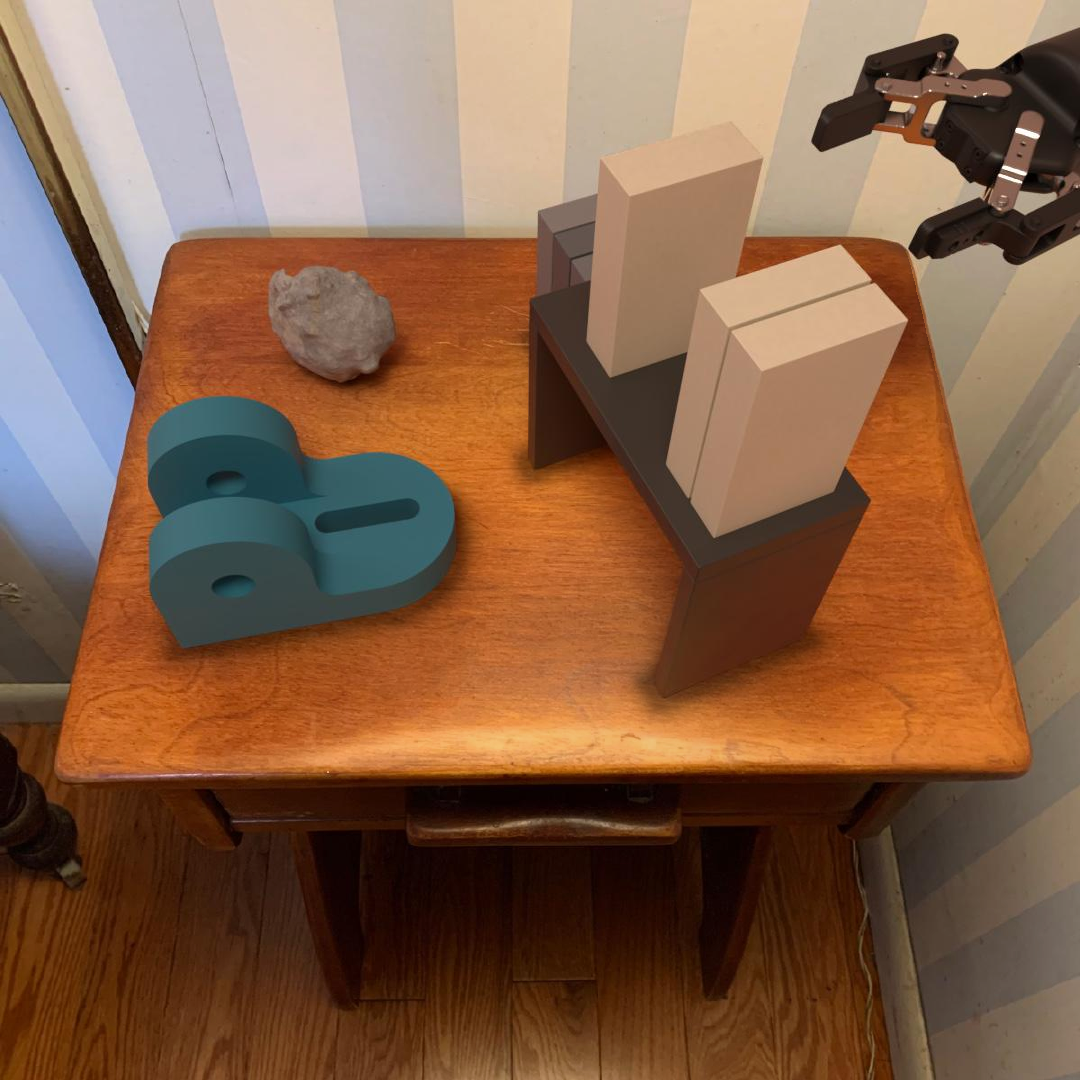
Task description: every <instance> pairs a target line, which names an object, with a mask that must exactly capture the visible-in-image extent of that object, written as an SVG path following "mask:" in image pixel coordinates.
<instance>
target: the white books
mask: <svg viewBox="0 0 1080 1080" xmlns="http://www.w3.org/2000/svg"><path fill="white" fill-rule="evenodd" d="M871 282H872V278H871V277H870V276H869V274H868V273H867V272H866V271H865V270H864V269H863V267H861V265H860V264H859V263H858V262H857V261H856V260H855V259H854V258H853V256H852V255H851V254H850V253H849V252H848V250H846V248H845V247H844V246H843V245H842V244H837V245H834V246H830V247H828V248H825V249H821V250H819V251H815V252H812V253H809V254H806V255H803V256H799V257H797V258H793V259H790V260H787V261H784V262H780V263H777V264H775V265H772V266H769V267H765V268H762V269H759V270H756V271H753V272H750V273H747V274H743V275H740V276H736V278H734V279H731V280H727V281H724V282H721V283H718V284H715V285H712V286H709V287H706V288H703V289H700V291H699V297H698V302H697V307H696V312H695V317H694V322H693V327H692V333H691V338H690V343H689V348H688V353H687V358H686V363H685V368H684V374H683V379H682V384H681V389H680V394H679V399H678V404H677V410H676V415H675V420H674V425H673V430H672V435H671V440H670V445H669V451H668V456H667V461H666V465H667V467H668V469H669V470H670V472H671V473H672V475H673V476H674V478H675V479H676V481H677V482H678V484H679V485H680V487H681V489H682V490H683V492H684V493H685V495H686V496H687V498H691V501H690V502H691V504H692V506H693V507H694V509H695V510H696V512H697V513H698V515H699V516H700V518H701V519H702V521H703V523H704V524H705V526H706V527H707V529H708V530H709V532H710V533H711V535H712V536H713V538H716V537H719V536H721V535H724V534H726V533H729V532H731V531H734V530H737V529H739V528H742V527H744V526H747V525H750V524H752V523H755V522H757V521H760V520H762V519H765V518H768V517H770V516H773V515H775V514H778V513H780V512H783V511H786V510H788V509H791V508H793V507H796V506H799V505H801V504H804V503H806V502H809V501H811V500H814V499H817V498H819V497H822V496H824V495H827V494H829V493H832V492H834V490H835V487H836V485H837V483H838V481H839V478H840V476H841V474H842V471H843V469H844V467H846V466H847V465H846V464H847V462H848V460H849V458H850V456H851V453H852V451H853V448H854V446H855V444H856V442H857V439H858V437H859V435H860V432H861V430H862V427H863V425H864V423H865V420H866V419H867V416H868V414H869V411H870V409H871V407H872V405H873V402H874V400H875V398H876V395H877V394H878V391H879V389H880V387H881V384H882V382H883V379H884V377H885V375H886V373H887V370H888V368H889V365H890V364H891V361H892V359H893V356H894V354H895V352H896V350H897V348H898V345H899V342H900V340H901V338H902V336H903V333H904V331H905V329H906V328H907V327H906V326H907V325H908V322H909V319H908V317H906V316H905V314H904V313H903V312H902V311H901V310H900V309H899V308H898V307H897V305H896V304H895V303H894V302H893V301H892V300H891V299H890V298H889V297H888V295H887V294H886V293H885V292H884V291H883V290H882V289H881V288H880V286H879V285H878V284H877V283H876V282H873V283H871Z"/></svg>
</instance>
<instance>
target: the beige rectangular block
mask: <svg viewBox="0 0 1080 1080" xmlns="http://www.w3.org/2000/svg"><path fill="white" fill-rule="evenodd" d="M599 159H600V160H599V168H598V169H599V171H598V181H597V182H598V184H597V186H598V187H597V194H598V195H597V209H596V222H595V235H594V248H593V261H592V274H591V288H590V301H589V314H588V327H587V340H586V341H587V343H588V345H589V346H590V348H591V349H592V351H593V352H594V354H595V355H596V357H597V359H598V360H599V362H600V363H601V365H602V366H603V368H604V369H605V371H606V372H607V374H608V375H609V377H610V378H611V377H614V376H617V375H620V374H623V373H626V372H629V371H632V370H635V369H638V368H641V367H644V366H647V365H650V364H653V363H656V362H659V361H662V360H665V359H668V358H671V357H674V356H677V355H680V354H683V353H686V352H688V348H689V343H690V338H691V333H692V327H693V322H694V317H695V312H696V307H697V302H698V297H699V291H700V289H703V288H706V287H709V286H712V285H715V284H718V283H721V282H724V281H727V280H731V279H734V278H737V274H738V270H739V266H740V261H741V257H742V252H743V249H744V244H745V240H746V235H747V231H748V227H749V222H750V217H751V213H752V209H753V205H754V201H755V196H756V191H757V187H758V184H759V178H760V174H761V170H762V165H763V162H764V156H763V155H762V154H761V152H760V151H759V150H757V148H756V147H755V146H754V145H753V144H752V143H751V141H749V139H748V138H747V137H746V136H745V134H744V133H742V132H741V130H740V129H739V128H738V127H737V126H736V125H735V124H734V122H733V121H727V122H723V123H720V124H716V125H711V126H708V127H705V128H701V129H698V130H695V131H692V132H687V133H684V134H679V135H676V136H672V137H669V138H666V139H662V140H658V141H655V142H651V143H647V144H644V145H640V146H637V147H633V148H629V149H626V150H622V151H618V152H614V153H612V154H608V155H604V156H600V158H599Z"/></svg>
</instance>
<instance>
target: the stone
mask: <svg viewBox="0 0 1080 1080" xmlns="http://www.w3.org/2000/svg"><path fill="white" fill-rule="evenodd" d="M267 301H268V303H267V304H268V309H267V310H268V311H267V312H268V317H269V320H270V325H271V329H272V332H273V333H274V334H275V335H276V336H277V337H278V338H279V340H280V342H281V344H282V346H283V347H284V348H285V350H286V351H287V352H288V354H289V357H290V358H291V359H292V361H294V362H296V363H297V364H298V365H300V366H302V367H304V368H305V369H307V370H308V371H310V372H312V373H314V374H316V375H318V376H320V377H323V378H324V379H327V380H329V381H333V380H334V381H336V382H338V383H339V384H340V383H344V382H347V381H349V380H350V381H351V380H354V379H356V378H357V377H359V375H361V374H366V375H369V374H370V375H371V374H373V373H374V372H376V371H377V370H378V369H379V368H380V361H381V359H382V358H383V357H384V355H385V354H386V353H387V352H388V350H389V349H390V347H391V346H392V345H393V344H395V342H396V339H397V329H396V322H395V317H394V314H393V312H392V308H391V307H392V304H391V301H390V300H389V299H388V297H387V296H385V295H381V294H376V293H375V291H374V290H373V288H372V287H371V285H370V283H369V280H368V279H366V277H364V276H362V275H360V274H359V272H358V271H356V270H349V271H346V272H344V271H342V270H340V269H339V268H337V267H334V266H323V265H310V266H306V267H304V268H302V269H301V270H300V271H299V272H297V274H296V275H295V276H291V275H288V274H287V271H286V268H281V269H280V270H276V271H274V273H272V276H271V277H270V281H269V283H268V296H267Z"/></svg>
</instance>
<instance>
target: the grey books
mask: <svg viewBox="0 0 1080 1080" xmlns="http://www.w3.org/2000/svg"><path fill="white" fill-rule="evenodd" d="M597 195H598V193H595V194H591V195H588V196H584V197H581V198H578V199H573V200H570V201H567V202H563V203H559V204H557V205H553V206H549V207H546V208H542V209H539V210H537V233H536V234H537V235H536V236H537V238H536V239H537V240H536V241H537V243H536V292H535V293H536V295H535V297H537V296H540V295H543V294H547V293H550V292H553V291H556V290H560V289H563V288H566V287H569V286H572V285H576V284H579V283H582V282H585V281H589V280H591V274H592V261H593V248H594V235H595V222H596V209H597Z"/></svg>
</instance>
